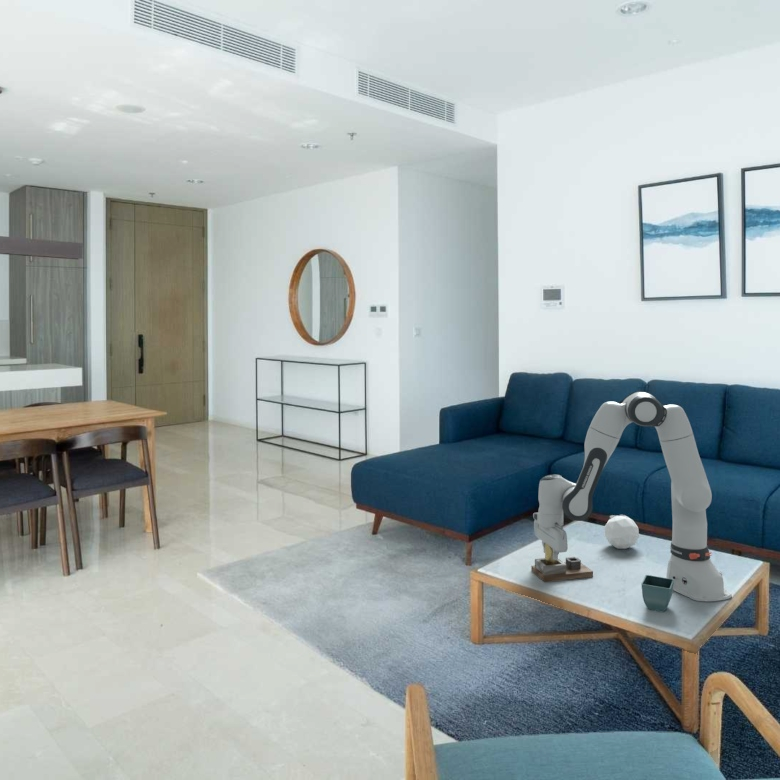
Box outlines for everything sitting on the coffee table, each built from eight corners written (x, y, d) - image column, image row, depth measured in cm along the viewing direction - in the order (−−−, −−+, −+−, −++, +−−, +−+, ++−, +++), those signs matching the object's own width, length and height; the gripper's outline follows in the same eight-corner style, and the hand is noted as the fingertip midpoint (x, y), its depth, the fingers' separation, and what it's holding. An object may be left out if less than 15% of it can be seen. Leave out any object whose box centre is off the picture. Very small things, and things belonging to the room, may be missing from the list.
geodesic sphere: (592, 536, 277) (615, 511, 272) (596, 526, 289) (617, 502, 285) (622, 560, 273) (645, 536, 269) (625, 549, 286) (646, 525, 281)
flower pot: (670, 616, 216) (670, 588, 215) (640, 610, 220) (641, 583, 219) (673, 605, 224) (674, 579, 223) (645, 600, 228) (645, 574, 227)
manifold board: (592, 576, 249) (593, 563, 249) (544, 582, 245) (544, 568, 245) (578, 566, 260) (578, 553, 259) (531, 571, 256) (531, 558, 255)
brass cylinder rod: (558, 571, 250) (559, 544, 248) (547, 572, 249) (548, 545, 247) (553, 566, 254) (554, 540, 252) (542, 567, 253) (543, 541, 251)
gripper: (572, 526, 240) (572, 565, 241) (546, 511, 260) (546, 546, 261) (555, 528, 239) (555, 567, 240) (531, 512, 258) (531, 548, 260)
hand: (550, 556), depth 251 cm, fingers open, 5 cm apart
